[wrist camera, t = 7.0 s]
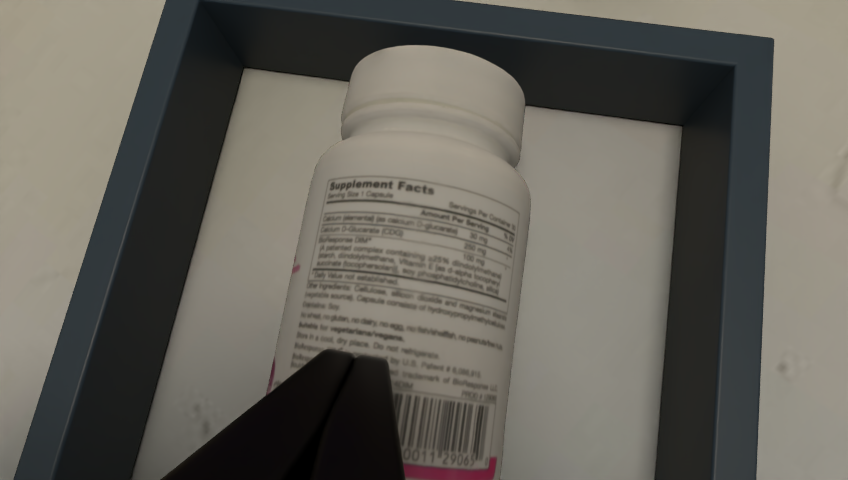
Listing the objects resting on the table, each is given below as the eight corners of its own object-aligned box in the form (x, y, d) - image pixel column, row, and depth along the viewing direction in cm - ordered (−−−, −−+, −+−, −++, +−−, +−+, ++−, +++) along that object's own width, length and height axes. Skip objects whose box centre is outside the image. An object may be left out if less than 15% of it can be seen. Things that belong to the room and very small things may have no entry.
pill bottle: (311, 452, 14) (373, 134, 16) (507, 493, 13) (548, 143, 15) (194, 472, 10) (300, 30, 12) (475, 536, 9) (541, 29, 11)
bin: (662, 922, 11) (733, 1105, 8) (18, 755, 13) (-112, 864, 10) (715, 102, 15) (775, 37, 13) (223, 38, 17) (175, -34, 14)
